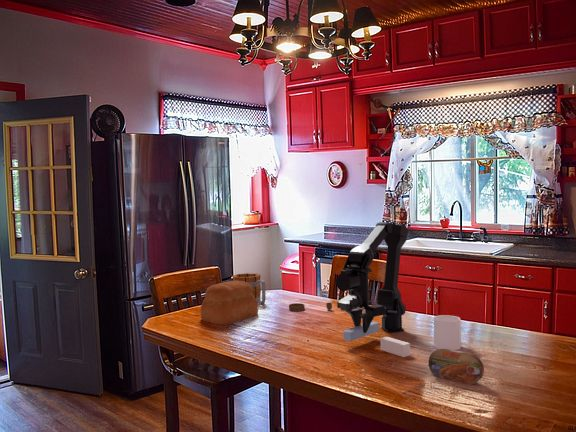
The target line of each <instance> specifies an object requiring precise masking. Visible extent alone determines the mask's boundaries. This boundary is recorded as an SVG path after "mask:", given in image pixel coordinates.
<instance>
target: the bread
mask: <svg viewBox="0 0 576 432" xmlns="http://www.w3.org/2000/svg"><path fill="white" fill-rule="evenodd" d="M252 292H253V289H252V287H251V286H250V285H249V284H248V283H247V282H244V281H237V280H234V281H233V280H231V281H225V282H220V283H217V284H215V283H214V284H211V285H210V286H209V287H207V288H206V290H205V292H204V299H203V301H202V303H201V306H200V319H201V321H202V320H203V321H202V322H204V321H207V322H206V323H208V322H211V323H210V324H213V323H214V325H218V324H219V326H228V325H232V324H235V323H237V322H241V321H244V320H247V319H251V318H254V317H256V316H257V315H258V313H259V304H257V301H256V299H255V297H254V295H253V293H252Z"/></svg>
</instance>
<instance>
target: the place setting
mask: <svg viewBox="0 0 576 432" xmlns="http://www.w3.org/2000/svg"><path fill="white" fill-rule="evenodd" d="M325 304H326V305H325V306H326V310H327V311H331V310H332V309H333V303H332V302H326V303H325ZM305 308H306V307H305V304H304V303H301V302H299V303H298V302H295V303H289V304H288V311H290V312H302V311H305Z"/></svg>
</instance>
